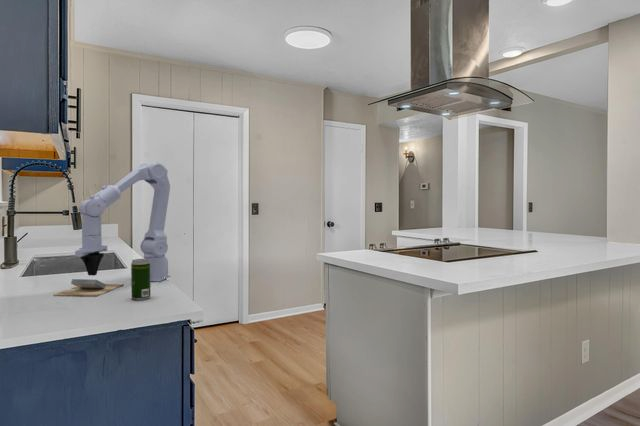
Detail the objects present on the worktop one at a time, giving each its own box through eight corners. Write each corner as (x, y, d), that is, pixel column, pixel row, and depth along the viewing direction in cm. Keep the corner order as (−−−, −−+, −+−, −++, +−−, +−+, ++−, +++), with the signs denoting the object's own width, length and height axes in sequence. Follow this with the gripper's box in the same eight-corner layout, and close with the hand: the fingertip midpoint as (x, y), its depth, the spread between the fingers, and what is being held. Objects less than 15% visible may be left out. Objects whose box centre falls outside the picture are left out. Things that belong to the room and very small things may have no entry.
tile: (82, 283, 137) (72, 279, 132) (105, 284, 137) (95, 279, 131) (81, 288, 137) (70, 283, 131) (104, 288, 136) (94, 284, 131)
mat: (85, 284, 143) (85, 283, 143) (123, 285, 143) (123, 284, 143) (53, 295, 128) (53, 294, 127) (96, 296, 127) (96, 295, 127)
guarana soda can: (154, 297, 126) (154, 259, 126) (139, 301, 121) (139, 261, 121) (142, 295, 129) (142, 258, 128) (127, 299, 124) (127, 260, 123)
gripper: (93, 233, 143) (94, 271, 144) (65, 236, 129) (66, 279, 129) (112, 233, 143) (113, 271, 143) (87, 237, 128) (87, 279, 129)
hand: (92, 275), depth 136 cm, fingers closed
